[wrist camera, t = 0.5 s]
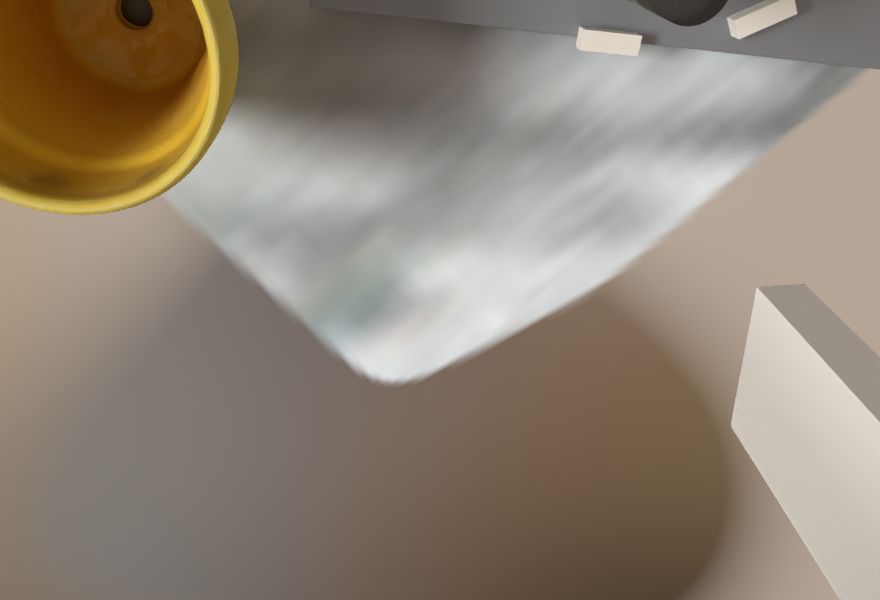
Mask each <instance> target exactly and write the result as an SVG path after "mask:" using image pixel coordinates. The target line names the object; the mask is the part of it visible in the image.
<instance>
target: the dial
mask: <svg viewBox="0 0 880 600" xmlns="http://www.w3.org/2000/svg"><path fill="white" fill-rule="evenodd" d="M628 1H630V2H632V3H634V4H636V5H638V6H640V7H642V8H644V9H646V10H648V11H650V12H652V13H654V14H656V15H658V16H660V17H662V18H664V19H666V20H668V21H670V22H672V23H674V24H676V25H680V26H696V25H700V24H702V23H705V22H707V21H709V20H710V19H712V18H713V17H714V16H716V15H717V14H718V13H719V12H720V11H721V10H722V8H723V7H724V6H725V4H726V3H727V1H728V0H628Z"/></svg>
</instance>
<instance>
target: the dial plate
mask: <svg viewBox="0 0 880 600" xmlns="http://www.w3.org/2000/svg"><path fill="white" fill-rule="evenodd" d="M310 7H314V8H323V9H333V10H342V11H351V12H360V13H369V14H378V15H387V16H397V17H406V18H415V19H424V20H433V21H442V22H452V23H461V24H470V25H479V26H488V27H497V28H506V29H516V30H525V31H534V32H543V33H552V34H561V35H571V36H578V37H577V42H576V47H577V48H578V49H579V50H583V51H592V52H601V53H611V54H620V55H629V56H638V53H639V49H640V44H641V43H644V44H653V45H662V46H671V47H680V48H689V49H699V50H708V51H717V52H726V53H735V54H744V55H754V56H763V57H772V58H781V59H790V60H799V61H808V62H818V63H827V64H836V65H845V66H854V67H863V68H873V69H880V0H728V1H727V3H726V4H725V6H724V7H723V8H722V10H721V11H720V12H719V13H718V14H717V15H716V16H714V17H713V18H712V19H710V20H709V21H707V22H705V23H702V24H700V25H696V26H680V25H676V24H674V23H672V22H670V21H668V20H666V19H664V18H662V17H660V16H658V15H656V14H654V13H652V12H650V11H648V10H646V9H644V8H642V7H640V6H638V5H636V4H634V3H632V2H630V1H628V0H310Z"/></svg>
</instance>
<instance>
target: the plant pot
mask: <svg viewBox="0 0 880 600" xmlns="http://www.w3.org/2000/svg"><path fill="white" fill-rule="evenodd" d="M147 1H148V2H149V3H150V5H151V8H152V12H153V14H152V19H151V21H150V23H149V24H147V25H145V26H136V25H134V24H131V23H130V22H129V21H127V20H126V19H125V17H124V16H123V14H122V12H121V2H122V0H0V198H1V199H4V200H6V201H9V202H11V203H14V204H17V205H20V206H24V207H28V208H31V209H36V210H40V211H46V212H51V213H60V214H72V215H73V214H74V215H89V214H102V213H109V212H115V211H120V210H123V209H127V208H131V207H134V206H137V205H139V204H142V203H145V202H147V201H149V200H151V199H153V198H155V197H157V196H159V195H161V194H162V193H164V192H166V191H167V190H169V189H170V188H172V187H173V186H174V185H176V184H177V183H178V182H180V181H181V180H182V179H183V178H184V177H185V176H186V175H187V174H189V173H190V172H191V171H192V169H193V168H194V167H195V166H196V165H197V164H198V163H199V161H200V160H201V159H202V157H203V156H204V154H205V153H206V152H207V150H208V149H209V147H210V146H211V144H212V143H213V141H214V139H215V138H216V136H217V134H218V133H219V131H220V129H221V127H222V125H223V123H224V121H225V118H226V116H227V114H228V111H229V109H230V106H231V103H232V100H233V97H234V93H235V88H236V83H237V77H238V65H239V50H238V39H237V31H236V25H235V21H234V17H233V13H232V10H231V7H230V4H229V1H228V0H147Z"/></svg>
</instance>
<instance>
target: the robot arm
mask: <svg viewBox="0 0 880 600" xmlns="http://www.w3.org/2000/svg"><path fill="white" fill-rule="evenodd" d="M731 427H732V428H733V430H734V432H735V433H736V435H737V436H738V438H739V440H740V441H741V443H742V444H743V446H744V448H745V449H746V451H747V452H748V454H749V456H750V457H751V459H752V460H753V462H754V463H755V465H756V467H757V468H758V470H759V471H760V473H761V475H762V476H763V478H764V479H765V481H766V482H767V484H768V486H769V487H770V489H771V491H772V492H773V494H774V495H775V497H776V499H777V500H778V502H779V503H780V505H781V507H782V508H783V510H784V511H785V513H786V515H787V516H788V517H789V519H790V521H791V523H792V524H793V526H794V527H795V529H796V530H797V532H798V534H799V535H800V537H801V538H802V540H803V541H804V543H805V545H806V546H807V548H808V549H809V551H810V553H811V554H812V556H813V558H814V559H815V561H816V562H817V564H818V566H819V567H820V569H821V570H822V572H823V574H824V575H825V577H826V578H827V580H828V581H829V583H830V584H831V586H832V588H833V589H834V591H835V593H836V594H837V596H838V597H839V599H840V600H880V357H879V356H878V355H877V354H876V353H875V352H874V351H873V350H872V349H871V348H870V347H868V345H867V344H866V343H865V342H864V341H862V340H861V339H860V338H859V337H858V336H857V335H856V334H855V333H854V332H853V331H852V330H851V329H850V328H849V327H848V326H847V325H846V324H845V323H844V322H843V321H841V319H840V318H839V317H838V316H837V315H835V313H834V312H833V311H832V310H831V309H829V308H828V307H827V306H826V305H825V304H824V303H823V302H822V301H821V300H820V299H819V298H818V297H817V296H816V295H815V294H814V293H813V292H812V291H811V290H810V289H809V288H808V287H807V286H806V285H805V284H800V285H782V286H766V287H757V290H756V295H755V301H754V306H753V311H752V316H751V321H750V327H749V332H748V337H747V342H746V348H745V353H744V358H743V363H742V369H741V374H740V380H739V385H738V390H737V395H736V400H735V406H734V411H733V416H732V421H731Z"/></svg>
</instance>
